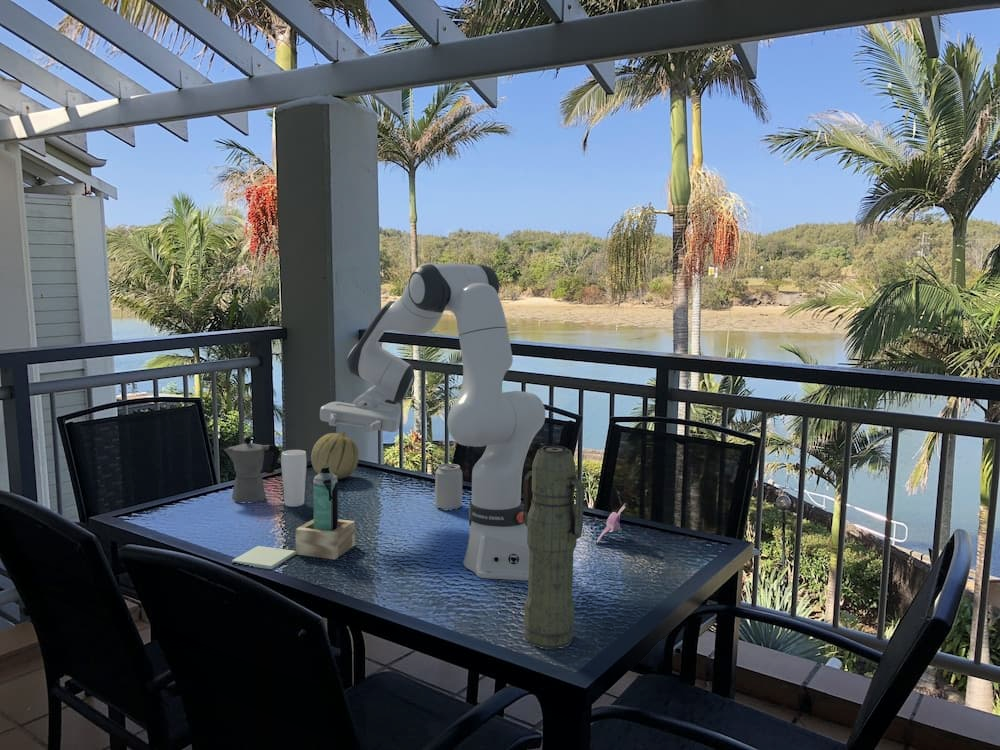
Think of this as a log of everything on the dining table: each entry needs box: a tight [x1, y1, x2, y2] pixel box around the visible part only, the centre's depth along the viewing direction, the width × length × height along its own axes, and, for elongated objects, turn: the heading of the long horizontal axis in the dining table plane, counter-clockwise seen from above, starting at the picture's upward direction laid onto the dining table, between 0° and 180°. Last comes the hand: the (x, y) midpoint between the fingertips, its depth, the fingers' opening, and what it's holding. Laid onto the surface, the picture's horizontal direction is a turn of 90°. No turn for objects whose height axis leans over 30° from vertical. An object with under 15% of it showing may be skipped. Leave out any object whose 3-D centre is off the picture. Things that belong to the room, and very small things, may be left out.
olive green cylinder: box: [523, 445, 585, 648], centre depth 140 cm, size 9×12×35 cm
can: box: [434, 463, 463, 510], centre depth 220 cm, size 8×8×12 cm
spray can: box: [312, 466, 339, 531], centre depth 184 cm, size 6×6×20 cm
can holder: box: [295, 518, 356, 561], centre depth 185 cm, size 10×10×6 cm
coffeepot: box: [223, 436, 281, 504], centre depth 224 cm, size 15×9×18 cm, turn 100°
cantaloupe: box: [310, 431, 360, 480], centre depth 248 cm, size 15×15×15 cm
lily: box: [596, 503, 629, 543], centre depth 195 cm, size 12×12×10 cm
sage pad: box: [231, 545, 297, 570], centre depth 179 cm, size 10×10×1 cm
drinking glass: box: [280, 449, 307, 508], centre depth 219 cm, size 7×7×15 cm
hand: (349, 426), depth 193 cm, fingers open, 8 cm apart
